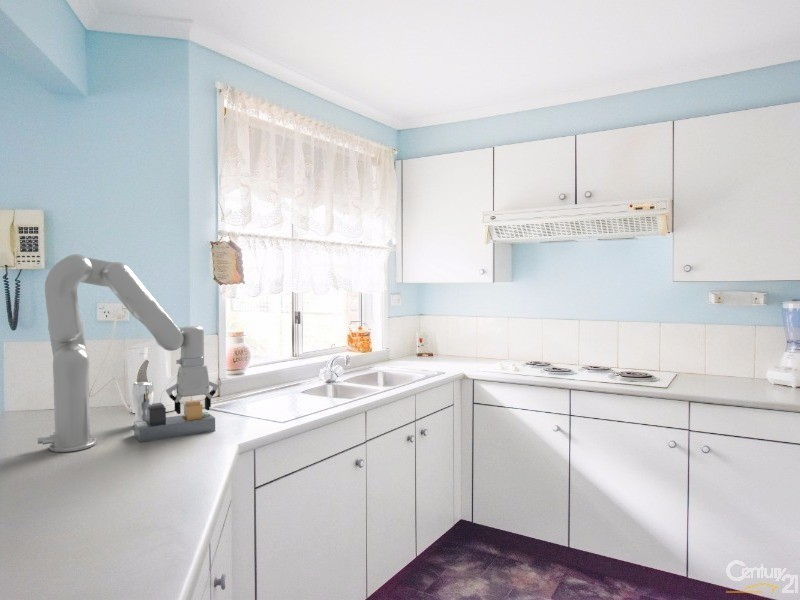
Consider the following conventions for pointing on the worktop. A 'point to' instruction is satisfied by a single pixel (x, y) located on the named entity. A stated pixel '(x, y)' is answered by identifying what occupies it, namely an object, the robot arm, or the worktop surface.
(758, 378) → the worktop surface
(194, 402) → the plug
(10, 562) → the worktop surface
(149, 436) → the power strip
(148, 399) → the beer glass
